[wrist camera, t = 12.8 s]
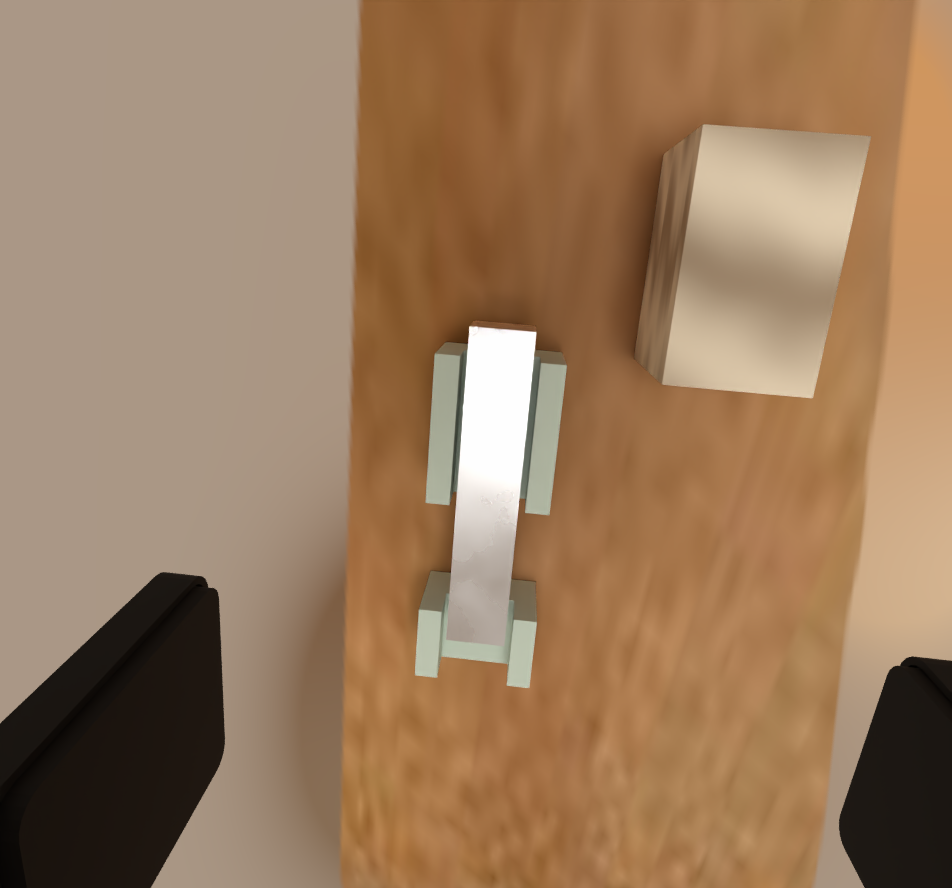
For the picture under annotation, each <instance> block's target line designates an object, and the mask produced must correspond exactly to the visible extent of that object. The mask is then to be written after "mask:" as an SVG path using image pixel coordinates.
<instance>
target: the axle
mask: <svg viewBox="0 0 952 888" xmlns="http://www.w3.org/2000/svg"><path fill="white" fill-rule="evenodd" d="M535 341H536V326H534V325H522V324H511V323H499V322H487V321H476V320H474V322H473V323H472V324H471V325H470V327H469V340H468V353H467V367H466V380H465V393H464V407H463V420H462V433H461V447H460V460H459V473H458V487H457V500H456V513H455V527H454V540H453V553H452V567H451V580H450V593H449V607H448V620H447V633H446V640H451V641H460V642H469V643H478V644H487V645H496V646H504V643H505V633H506V624H507V614H508V604H509V595H510V585H511V575H512V565H513V556H514V546H515V536H516V526H517V517H518V507H519V497H520V487H521V478H522V468H523V458H524V448H525V439H526V429H527V419H528V410H529V400H530V390H531V380H532V371H533V361H534V351H535Z"/></svg>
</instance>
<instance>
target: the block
mask: <svg viewBox="0 0 952 888" xmlns="http://www.w3.org/2000/svg"><path fill="white" fill-rule="evenodd" d="M870 139H871V136H861V135H846V134H832V133H818V132H804V131H790V130H776V129H762V128H748V127H734V126H720V125H706V124H703V125H702V126H700V127H699V128H698V129H696V130H695V131H694V132H692V133H691V134H690V135H688V136H687V137H686V138H684V139H683V140H682V141H680V142H679V143H678V144H676V145H675V146H674V147H672V148H671V149H670V150H668V151H667V152H666V153H665V154H664V155H663V162H662V168H661V175H660V182H659V189H658V196H657V203H656V210H655V217H654V224H653V231H652V237H651V244H650V251H649V258H648V265H647V272H646V279H645V286H644V293H643V300H642V307H641V313H640V320H639V327H638V334H637V341H636V348H635V355H634V359H635V360H636V361H637V362H638V363H639V364H640V365H641V366H642V367H644V368H645V369H646V370H647V371H648V372H649V373H650V374H651V375H652V376H653V377H654V378H655V379H656V380H657V381H659V382H660V383H661V384H662V385H671V386H683V387H694V388H705V389H716V390H727V391H738V392H749V393H760V394H771V395H782V396H793V397H804V398H813V395H814V390H815V386H816V381H817V377H818V372H819V368H820V363H821V359H822V354H823V350H824V345H825V341H826V337H827V332H828V328H829V323H830V319H831V314H832V310H833V305H834V301H835V296H836V292H837V287H838V283H839V278H840V274H841V269H842V265H843V260H844V256H845V251H846V247H847V242H848V238H849V233H850V229H851V224H852V220H853V215H854V211H855V206H856V202H857V197H858V193H859V188H860V184H861V179H862V175H863V170H864V166H865V161H866V157H867V153H868V148H869V144H870Z"/></svg>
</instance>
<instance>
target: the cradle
mask: <svg viewBox="0 0 952 888" xmlns="http://www.w3.org/2000/svg"><path fill="white" fill-rule="evenodd" d="M467 353H468V344H463V343H452V342H445V343H444V344H443V346H442V347H441V348H440V349H439V350H438V351H437V352H436V353H435V358H434V374H433V390H432V407H431V423H430V439H429V455H428V471H427V487H426V503H433V504H443V505H450V501H451V498H452V495H453V492H457V487H458V473H459V460H460V447H461V433H462V420H463V407H464V393H465V380H466V367H467ZM566 369H567V364H566V362H565V359H564V356H563V354H562V352H553V351H542V350H535V351H534V361H533V371H532V380H531V390H530V400H529V410H528V419H527V429H526V439H525V448H524V458H523V468H522V478H521V487H520V497H519V498H522V499H525V513H532V514H542V515H549V514H550V505H551V497H552V488H553V480H554V471H555V463H556V454H557V446H558V437H559V429H560V420H561V412H562V403H563V395H564V386H565V377H566ZM450 580H451V573H448V572H438V571H431V572H430V575H429V578H428V581H427V585H426V588H425V591H424V595H423V598H422V601H421V604H420V608H419V617H418V633H417V649H416V665H415V675H418V676H427V677H436V678H437V675H438V670H439V665H440V660H441V656H443V657H452V658H461V659H470V660H479V661H488V662H497V663H506V664H508V671H507V686H515V687H524V688H529V685H530V676H531V668H532V659H533V650H534V642H535V633H536V625H537V612H536V582H533V581H524V580H514V579H511V585H510V595H509V604H508V614H507V624H506V633H505V643H504V646H496V645H487V644H478V643H469V642H460V641H451V640H446V633H447V620H448V607H449V593H450Z"/></svg>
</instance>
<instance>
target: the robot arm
mask: <svg viewBox="0 0 952 888" xmlns="http://www.w3.org/2000/svg"><path fill="white" fill-rule="evenodd" d="M223 709H224V708H223V686H222V661H221V637H220V613H219V596H218V592H217V590H216V589H214V588H208V584H207V582H206V579H205V578H203V577H202V576H194V575H185V574H176V573H166V572H163V573H160V574H158V575H157V576H155V577H154V578H153V579H152V580H151V581H150V582H149V583H148V584H147V585H146V586H145V587H144V588H143V589H142V590H141V591H139V593H137V594H136V595H135V596H134V597H133V598H132V599H131V600H130V601H129V602H128V603H127V604H126V605H125V606H124V607H123V608H122V609H120V611H118V612H117V613H116V614H115V615H114V616H113V617H112V618H111V619H110V620H109V621H108V622H107V623H106V624H105V625H104V626H103V627H102V628H100V629H99V630H98V631H97V632H96V633H95V634H94V635H93V636H92V637H91V638H90V639H89V640H88V641H87V642H86V643H85V644H84V645H82V646H81V647H80V649H78V650H77V651H76V652H75V653H74V654H73V655H72V656H71V657H70V658H69V659H68V660H67V661H66V662H65V663H63V664H62V665H61V666H60V667H59V668H58V669H57V670H56V671H55V672H54V673H53V674H52V675H51V676H50V677H49V678H48V679H47V680H46V681H44V682H43V683H42V684H41V685H40V686H39V687H38V688H37V689H36V690H35V691H34V692H33V693H32V694H31V695H30V696H29V697H28V698H27V699H25V701H23V702H22V703H21V704H20V705H19V706H18V707H17V708H16V709H15V710H14V711H13V712H12V713H11V714H10V715H9V716H8V717H6V718H5V719H4V720H3V721H2V722H1V723H0V888H151V886H152V884H153V883H154V881H155V879H156V877H157V876H158V874H159V872H160V870H161V868H162V867H163V865H164V863H165V862H166V859H167V858H168V856H169V854H170V853H171V851H172V849H173V847H174V846H175V844H176V842H177V840H178V839H179V837H180V835H181V833H182V831H183V830H184V828H185V826H186V824H187V823H188V821H189V819H190V817H191V816H192V813H193V812H194V810H195V808H196V806H197V805H198V803H199V801H200V800H201V798H202V796H203V794H204V792H205V791H206V789H207V787H208V785H209V784H210V782H211V780H212V778H213V777H214V775H215V773H216V771H217V769H218V767H219V765H220V762H221V759H222V756H223V751H224V745H225V732H224V711H223ZM839 831H840V837H841V841H842V844H843V846H844V848H845V850H846V852H847V854H848V856H849V858H850V860H851V862H852V864H853V866H854V868H855V870H856V872H857V874H858V876H859V878H860V880H861V882H862V883H863V885H864V887H865V888H952V661H947V660H939V659H930V658H920V657H909V658H906V659H905V660H904V661H903V662H902V663H901V665H900V666H895V667H893V668H892V669H890V671H889V673H888V675H887V677H886V680H885V683H884V686H883V690H882V692H881V695H880V698H879V701H878V704H877V707H876V710H875V713H874V716H873V719H872V722H871V725H870V728H869V731H868V734H867V737H866V740H865V743H864V746H863V749H862V752H861V755H860V758H859V761H858V764H857V767H856V770H855V773H854V776H853V779H852V782H851V785H850V787H849V791H848V793H847V796H846V799H845V802H844V805H843V808H842V811H841V814H840V819H839Z"/></svg>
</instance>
